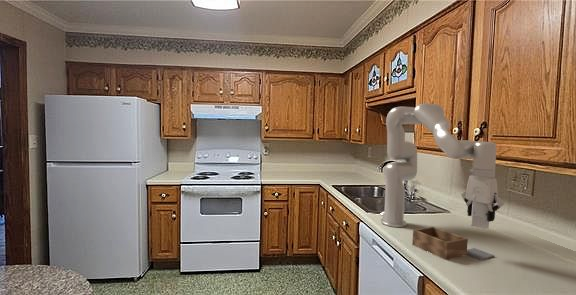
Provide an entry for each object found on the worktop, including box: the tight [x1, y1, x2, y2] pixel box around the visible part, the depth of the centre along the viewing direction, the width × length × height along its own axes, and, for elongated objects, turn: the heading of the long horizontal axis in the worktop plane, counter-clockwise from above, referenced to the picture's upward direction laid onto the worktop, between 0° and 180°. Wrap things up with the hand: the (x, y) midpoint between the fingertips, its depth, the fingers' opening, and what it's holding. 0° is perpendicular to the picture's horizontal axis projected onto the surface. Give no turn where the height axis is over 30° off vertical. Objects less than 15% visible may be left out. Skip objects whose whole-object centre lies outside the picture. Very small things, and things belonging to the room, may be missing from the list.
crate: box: [412, 226, 469, 261], centre depth 127 cm, size 16×12×6 cm
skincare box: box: [470, 196, 490, 229], centre depth 122 cm, size 6×4×12 cm
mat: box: [466, 247, 495, 261], centre depth 124 cm, size 8×8×1 cm
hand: (480, 218), depth 122 cm, fingers closed on skincare box, 7 cm apart
